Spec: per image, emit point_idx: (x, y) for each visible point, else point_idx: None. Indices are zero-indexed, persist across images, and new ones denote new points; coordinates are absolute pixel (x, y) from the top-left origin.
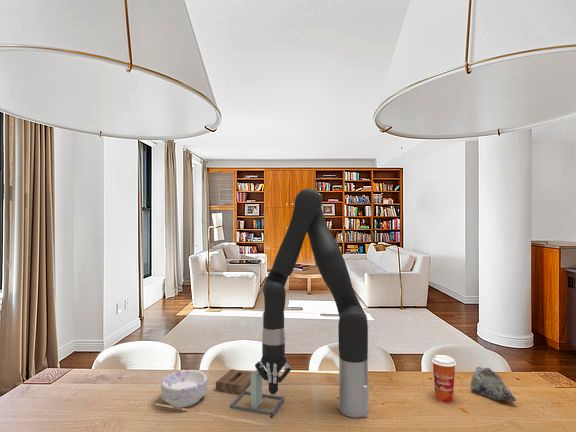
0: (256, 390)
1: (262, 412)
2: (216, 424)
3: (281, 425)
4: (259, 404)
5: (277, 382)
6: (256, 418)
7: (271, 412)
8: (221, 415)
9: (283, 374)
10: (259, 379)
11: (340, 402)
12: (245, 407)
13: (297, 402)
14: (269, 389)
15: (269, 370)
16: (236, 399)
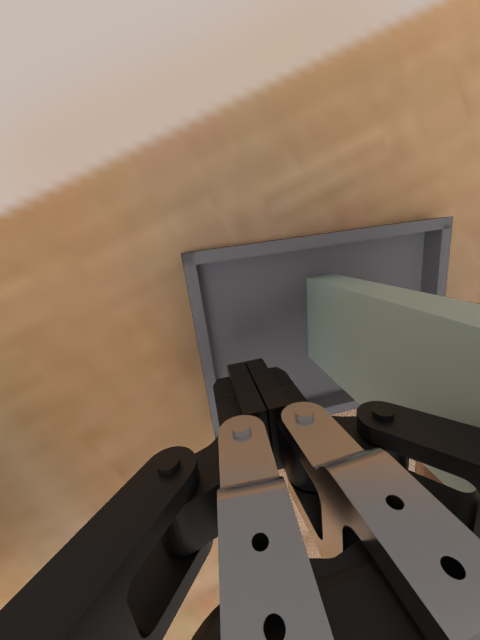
0: (373, 310)
1: (249, 244)
2: (441, 42)
3: (87, 201)
4: (310, 327)
5: (211, 444)
6: (264, 208)
7: (190, 255)
8: (449, 151)
9: (66, 607)
10: (425, 404)
11: None
12: (363, 236)
13: (146, 454)
14: (279, 376)
15: (411, 554)
16: (441, 294)
